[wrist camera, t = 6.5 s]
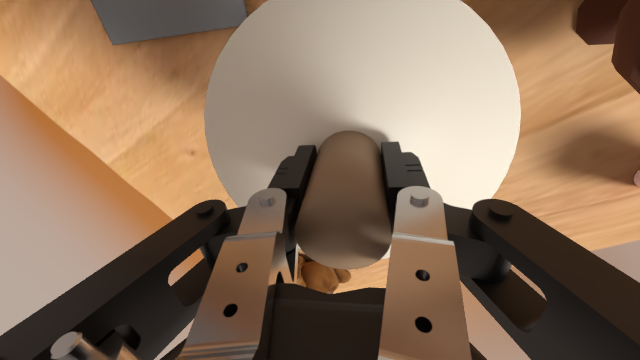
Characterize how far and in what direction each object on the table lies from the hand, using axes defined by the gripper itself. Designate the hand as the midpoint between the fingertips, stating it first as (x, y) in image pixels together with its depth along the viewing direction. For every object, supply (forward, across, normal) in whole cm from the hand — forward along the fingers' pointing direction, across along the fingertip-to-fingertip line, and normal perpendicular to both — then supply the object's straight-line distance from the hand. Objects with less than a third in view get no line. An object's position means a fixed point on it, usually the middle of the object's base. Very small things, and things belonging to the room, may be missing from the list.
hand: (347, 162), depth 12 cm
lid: (+2, 0, 0) cm, 2 cm away
